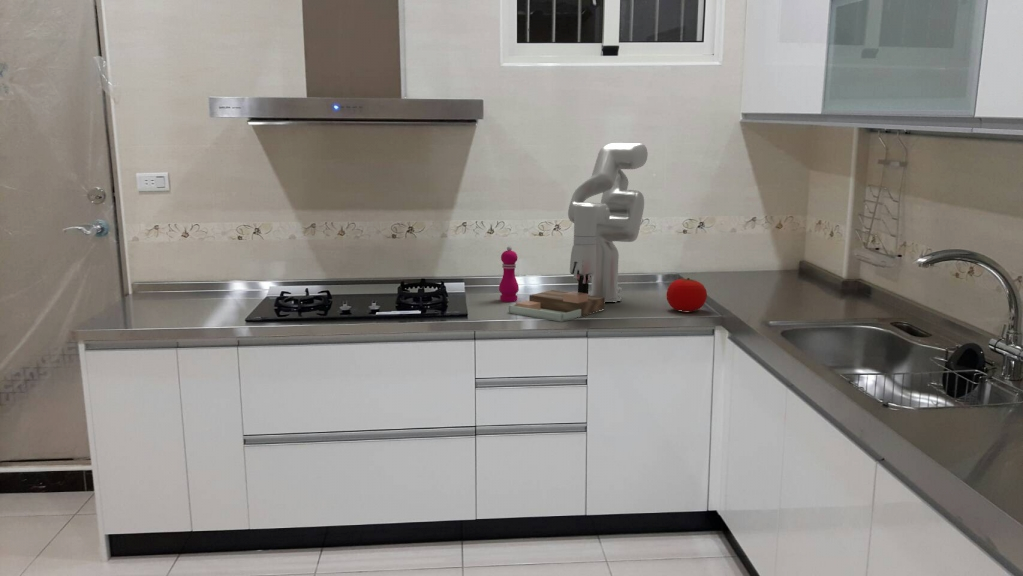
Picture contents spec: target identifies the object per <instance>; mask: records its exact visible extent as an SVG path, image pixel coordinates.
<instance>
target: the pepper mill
mask: <svg viewBox="0 0 1023 576" xmlns="http://www.w3.org/2000/svg"><path fill="white" fill-rule="evenodd" d="M512 249H513V248H512V246H510V245H507V247H506V250H505V251H503V252H502V253H501V256H500V260H501V262H502V263H501V264H502V267H501V268H503V273H502V278H501V281H500V283H499V286H498V290H499V293H500V294H501V295H500V296H499V298H500V300H499V301H501V302H506V303H513V302H515V303H516V302H517V301H518V295H517V294H518V292H519V289H520V288H519V283H518V280H517V278H516V274H515V273H516V272H515V270H516V269H517V266H516V265H517V264H516V262H517V261H518V254H517V253H516V251H514V250H512Z"/></svg>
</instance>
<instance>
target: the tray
mask: <svg viewBox="0 0 1023 576" xmlns="http://www.w3.org/2000/svg"><path fill="white" fill-rule="evenodd" d="M508 313H509V314H514V315H520V316H524V317H525V316H526V317H531V318H532V317H533V318H538V319H543V320H550V321H555V322H561V323H563V322H568V321H571V320H574V318H575V319H578V318H581V317H582V316H581V309H578V310H574V311H571V312H567V313H566V312H560V311H554V310H548V309H542V308H540V310H536V309H530V308H524V307H517V306H516V303H515V304H509V305H508ZM580 316H581V317H580ZM577 317H578V318H577Z"/></svg>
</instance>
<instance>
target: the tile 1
mask: <svg viewBox="0 0 1023 576" xmlns="http://www.w3.org/2000/svg"><path fill="white" fill-rule="evenodd" d="M515 304H516V306H517V307H524V308H530V309H536V310H540V305H541V303H539V302H533V301H529V300H524V301H520V302H519V301H518V302H515Z"/></svg>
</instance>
